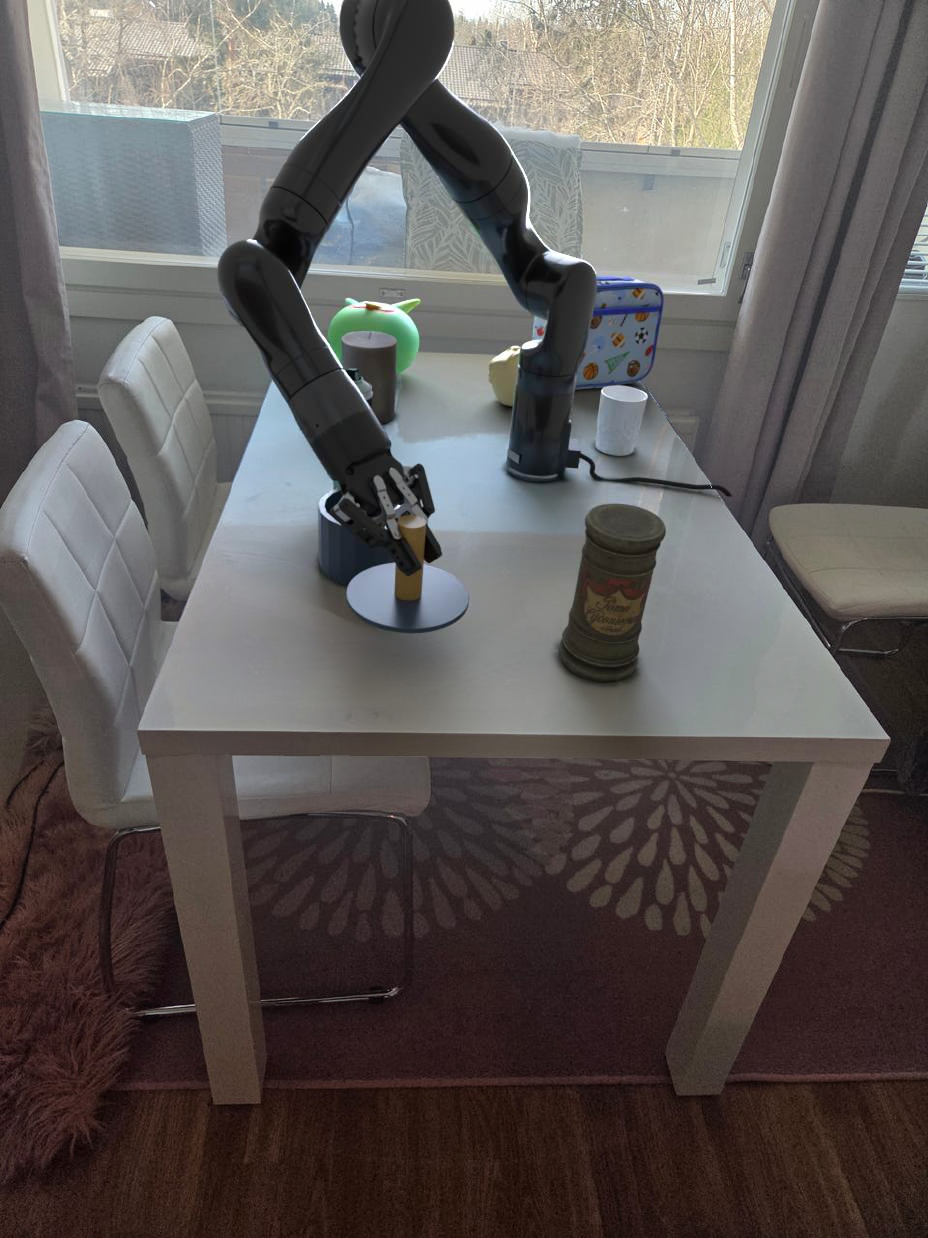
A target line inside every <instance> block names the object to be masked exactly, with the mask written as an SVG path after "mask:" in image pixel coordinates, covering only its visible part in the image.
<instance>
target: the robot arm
mask: <svg viewBox="0 0 928 1238" xmlns="http://www.w3.org/2000/svg"><path fill="white" fill-rule="evenodd" d="M455 25H456V24H455V18H454V13H453V9H452V5H451V3H450V1H449V0H342V3H341V6H340V10H339V14H338V31H339V38H340V42H341V46H342V49H343V52H344V53H345V56H346V58H347V61H348V63H349V64H350V66H351V67H352V69H353V71H354V73H355V74H356V75H357V77H358V80H357V81H356V82H355V84H354V85H353V86H352V87H351V88H350V90H349V91H348V92H347V93H346V94H345V95H344V96H343V97H342V98H341V100H339V101H338V102H337V103H336V105H335V106H334V107H332V108H331V109H330V110H329V111H328V112H327V113H326V114H325V115H324V116H323V117H322V118H321V119H320V120H318V121H317V122H316V124H314V125H313V126H312V127H311V128H310V129H309V130H308V131H307V132H306V133H305V135H304V136H302V138H301V139H300V140H299V141H298V143H296V145H295V146H294V147H293V149H292V150H291V152H290V153H289V154H288V156H287V158H286V159H285V161H284V162H283V164H282V165H281V168H280V169H279V171H278V173H277V174H276V176H275V177H274V179H273V181H272V183H271V185H270V187H269V188H268V190H267V191H266V193H265V196H264V197H263V201H262V203H261V205H260V208H259V214H258V224H257V228H256V230H255V233H254V235H253V237H252V239H242V240H238V241H235V242H232V243H231V244H229V246H228V247H226V248H225V249H224V250H223V252H222V253H221V255H220V257H219V260H218V263H217V268H216V281H217V286H218V290H219V292H220V294H221V297H222V300H223V303H224V306H225V308H226V311H227V312H228V314H229V315H230V316H231V318H232V320H234V321H235V322H236V323H237V324H238V325H239V326H241V327H242V328H244V329H245V330H246V332H247V333H248V335H249V336H250V338H251V340H252V342H254V344H255V346H256V347H257V349H258V352H259V353H260V355H261V358H262V361H263V364H264V366H265V368H266V371H267V372H268V374H269V377H270V379H271V380H272V381H273V383H274V385H275V386H276V388H277V390H278V391H279V393H280V395H281V397H282V398H283V399H284V401H285V402H286V404H287V406H288V408H289V409H290V412H291V413H292V416H293V418H294V421H295V424H297V426H298V428H299V430H300V431H301V433H302V435H303V437H304V438H305V440H306V441H307V443H308V444H309V446H310V448H311V450H312V451H313V453H314V454H315V456H316V457H317V460H318V461H319V463H320V464H321V466H322V468H323V469H324V471H325V472H326V475H328V477H329V479H330V480H332V481H333V480H334V481H338V483H339V485H340V490H341V494H342V498H341V499H340V501H339V503H338V504H337V505H335V506H334V507H333V508H331V509H330V515H331V516H332V517H333V518H334V519H335V520H336V521H337V522H339V523H340V524H341V525H342V526H343V527H344V528H346V529H347V530H348V531H349V532H350V533H351V534H353V535H354V536H355V537H356V538H357V539H358V540H359V541H361V542H362V543H363V544H364V545H365V546H366V547H368V548H370V549H372V548H374V547H380V546H381V547H384V548H386V549H387V550H388V552H389V554H390V555H391V557H392V558H393V560H394V561H395V563H396V565H397V567H398V568H399V570H400V571H401V572H402V573H404V574H405V575H406V576H410V575H412V574H414V573H415V572H417V571H418V570H420V569H421V568H422V565H421V563H420V562H419V560H418V558H417V557H416V555H415V553H414V552H413V550H412V548H411V547H410V545H409V544H408V542H407V540H406V539H405V537H404V538H403V539H401V537H402V534H401V531H400V529H399V527H398V525H397V522H396V520H395V518H398V519H399V518H400V517H402V516H405V515H409V514H408V513H407V511H409V512H410V513H411V515H416V516H420V517H422V518H424V519H425V521H426V533H425V549H424V562H425V563H427V564H432V563H433V562H435V561H436V560H438V559H440V558H441V557H442V556H443V551H442V549H441V548H442V547H441V545H440V543H439V541H438V540H437V537H436V536H435V534H434V533H433V531H432V529H431V528H430V526H429V518H430V517H431V516H432V515H433V514H435V513H436V508H435V504H434V501H433V496H432V493H431V489H430V484H429V481H428V476H427V473H426V469H425V466H424V465H423V464H422V463H416V464H415V465H414V466H404V465H403V464H402V463H401V462H400V461H399V460H398V459H397V458H396V457H395V456H394V455H393V454H392V452H391V451H392V450H391V448H392V440H391V438H390V437H389V436H388V433H387V432H386V431H385V429H384V427H383V425H382V424H380V422H379V421H378V419H377V417H376V416H375V414H374V412H373V411H372V409H371V408H370V406H369V404H368V403H367V401H366V399H365V398H364V396H363V394H362V393H361V391H360V390H359V388H358V387H357V385H356V384H355V383H354V382H353V380H352V379H351V378H350V377H349V375H348V374H347V372H346V371H345V370H344V368H343V366H342V364H341V363H340V361H339V360H338V358H337V356H336V355H335V353H334V351H333V350H332V348H331V346H330V345H329V343H328V339H326V338H325V336H324V334H322V331H321V329H320V328H319V326H318V325H317V323H316V322H315V320H314V318H313V315H312V314H311V311H310V309H309V307H308V304H307V303H306V301H305V298H304V296H303V294H302V292H301V289H302V287H303V284H304V282H305V279H306V277H307V274H308V272H309V270H310V268H311V265H312V262H313V259H314V257H315V255H316V252H317V250H318V248H319V247H320V245H321V244H322V242H323V241H324V240H325V237H327V234H328V233H329V231H330V229H331V228H332V226H333V224H334V222H335V221H336V219H337V217H338V215H339V213H340V212H341V210H342V208H343V206H344V204H345V203H346V201H347V199H348V197H349V196H350V194H351V192H352V191H353V189H354V188H355V186H356V184H357V183H358V181H359V180H360V178H361V176H362V175H363V173H364V171H365V170H366V169H367V167H368V166H369V164H370V163H371V162H372V160H373V159H374V158H375V156H376V155H377V153H378V152H379V151H380V149H381V148H382V147H383V146H384V144H385V143H386V141H388V139H389V138H390V136H391V135H392V134H393V133H394V131H395V130H396V129H397V128H398V127H399V126H401V128H402V129H403V130H404V132H405V133H406V134H407V136H408V137H409V138H410V140H411V142H412V143H413V144H414V146H415V147H416V148H417V150H418V151H419V153H420V154H421V156H422V157H423V159H425V161H426V163H427V165H428V166H429V167H430V168H431V170H432V171H433V172H434V174H435V175H436V177H437V178H438V180H439V182H440V183H441V185H442V186H443V187H444V189H445V191H446V193H447V194H448V195H449V197H450V198H451V200H452V201H453V203H454V204H455V205H456V207H457V208H458V210H459V211H460V213H461V214H462V216H463V217H464V218H465V220H466V222H468V224H469V225H470V226H471V228H472V229H473V231H474V232H475V233H476V235H477V236H478V238H479V239H480V241H481V243H482V244H483V245H484V246H485V247H486V249H487V251H488V252H489V253H490V255H491V256H492V257H493V259H494V261H495V262H496V264H497V266H498V268H499V270H500V272H501V274H502V275H503V278H504V279H505V281H506V283H507V285H508V288H509V290H510V291H511V293H512V295H513V297H514V299H515V300H516V302H517V303H518V305H519V306H520V308H521V309H522V310H523V311H524V312H526V313H528V314H529V315H530V316H532V317H538V318H541V319H543V320H546V321H547V325H546V330H545V334H544V338H543V339H539V340H533V341H532V340H529V341H526V342H524V343H523V344H522V345H521V346H520V347H521V348H520V352H519V359H518V367H517V376H516V385H515V394H514V403H513V406H512V413H511V421H510V429H509V439H508V448H507V454H506V461H505V470H506V471H507V473H509V475H511V476H513V477H515V478H517V479H519V480H523V481H527V482H533V483H534V482H535V483H549V482H553V481H556V480H557V481H558V480H560V481H563V480H564V479H565V472H566V469H577V470H578V469H579V465H580V461H581V460H583V461H585V462H587V463H588V465H589V476H591V478H593V479H594V480H596V481H599V482H600V481H601V482H611V483H622V484H623V483H624V484H625V483H646V484H651V485H660V486H667V487H675V488H680V489H681V488H682V489H687V490H688V489H689V490H696V491H697V490H698V491H704V490H716V491H719V492H721V493H722V494H724V495H725V497H728V498H731V497H733V495H732V494H731V492H730V491H729V490H728V489H727V488H726V487H724V486H723V485H720V484H715V483H714V484H713V483H712V484H711V483H710V484H709V483H708V484H695V483H694V484H693V483H686V482H679V481H672V480H666V479H658V478H653V477H652V478H651V477H643V476H642V477H641V476H631V477H630V476H629V477H622V478H605V477H602V476H600V475H598V474H597V473H596V463H595V462H594V460H593V459H592V458H590V456H588V455H586V454H584V453H582V450H581V447H580V442H579V439H577V438H571V434H572V428H573V423H572V419H571V418H572V411H573V404H574V400H575V399H574V398H575V391H576V390H575V386H576V379H577V373H578V367H579V362H580V359H581V357H582V355H583V353H584V350H585V348H586V344H587V340H588V335H589V330H590V325H591V321H592V316H593V311H594V307H595V301H596V294H597V277H596V276H597V273H596V271H595V269H594V266H592V265H591V264H590V263H589V262H588V261H586V260H583V259H580V258H576V257H573V256H570V255H567V254H564V253H563V254H562V253H559V252H556V251H554V250H552V249H550V248H549V247H548V246H547V245H546V244H545V243H544V241H542V238H540V236H539V235H538V234H537V232H536V230H535V229H534V227H533V225H532V223H531V221H530V218H529V217H530V216H529V215H530V207H531V205H530V204H531V191H530V185H529V181H528V178H527V176H526V174H525V171H524V169H523V167H522V166H521V164H520V162H519V161H518V158H517V157H516V156H515V154H514V152H513V150H512V149H511V146H510V145H509V143H508V142H507V140H506V139H505V138H504V136H503V135H502V134H501V133H500V132H499V131H498V129H497V128H496V127H495V126H494V125H492V123H490V122H489V121H488V120H487V119H486V118H484V117H483V116H482V115H481V114H480V113H479V112H477V111H475V109H473V108H472V107H470V106H469V105H468V104H466V102H464V101H463V100H462V99H460V98H459V97H458V96H457V95H455V93H453V92H452V91H451V90H449V89H448V88H447V87H446V86H445V85H444V83H443V82H441V80H440V79H439V76H440V74H441V73H442V72H443V70H444V68H445V67H446V65H447V63H448V61H449V59H450V56H451V54H452V51H453V47H454V42H455V41H454V40H455V33H456V32H455V31H456V30H455V29H456V28H455V27H456V26H455ZM710 485H711V486H712V488H711V486H710ZM402 501H404V504H402V505H398V504H399V503H401V502H402ZM378 515H379V516H378ZM377 516H378V517H377ZM384 524H385V526H386V528H387V531H386V529H385V527H384ZM365 529H366V530H367V531H368V532H369V533H370V534H372V535H370V534H369V533H368V532H367V531H366V530H365Z"/></svg>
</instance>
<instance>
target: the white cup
mask: <svg viewBox="0 0 928 1238" xmlns="http://www.w3.org/2000/svg"><path fill="white" fill-rule="evenodd" d="M648 397H649V396H648V394H647V393H646V392H645V391H643V390H641V389H638V388H636V387H633V386H628V385H614V386H607V387H603V388H601V390H600V397H599V398H600V399H599V405H598V406H599V407H598V412H597V413H598V415H597V423H596V439H595V448H596V449H597V450H598V451H600V452H601V453H604V454H607V455H611V456H617V457H622V456H623V457H624V456H629V455H631V454H632V453H634V450H635V445H636V441H637V438H638V436H639V433H640V431H641V430H640V429H641V426H642V422H643V417H644V414H645V410H646V405H647V401H648Z"/></svg>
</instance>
